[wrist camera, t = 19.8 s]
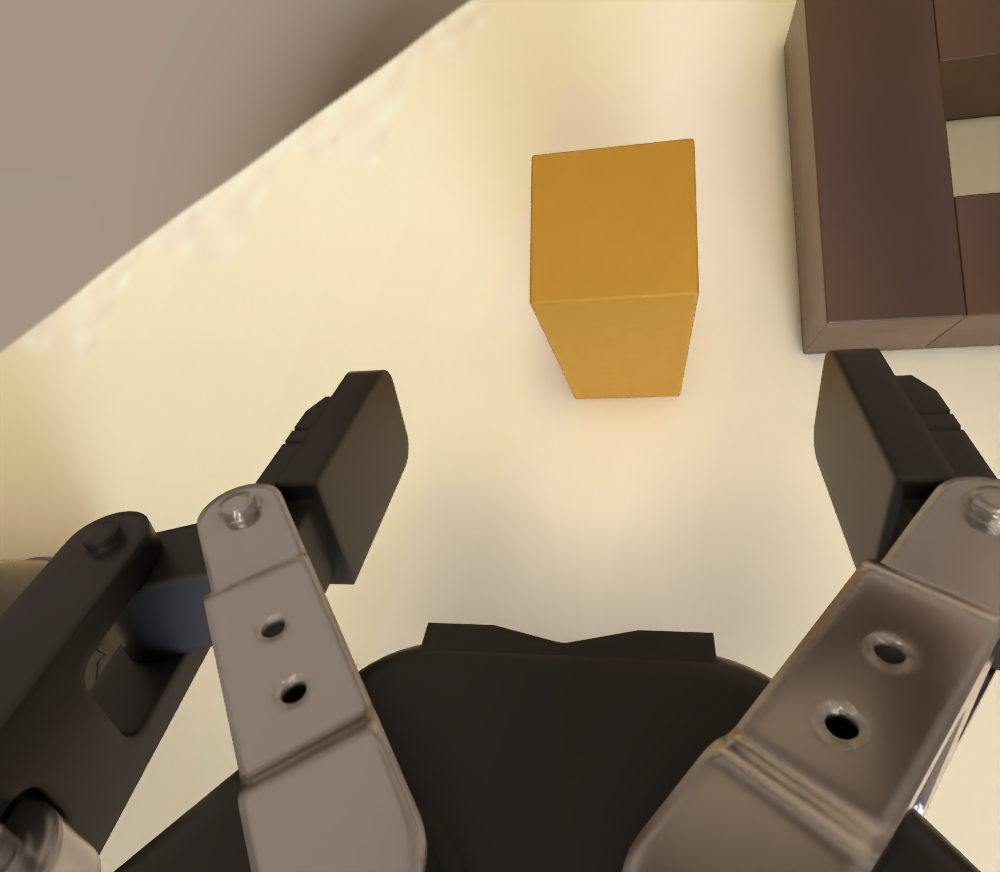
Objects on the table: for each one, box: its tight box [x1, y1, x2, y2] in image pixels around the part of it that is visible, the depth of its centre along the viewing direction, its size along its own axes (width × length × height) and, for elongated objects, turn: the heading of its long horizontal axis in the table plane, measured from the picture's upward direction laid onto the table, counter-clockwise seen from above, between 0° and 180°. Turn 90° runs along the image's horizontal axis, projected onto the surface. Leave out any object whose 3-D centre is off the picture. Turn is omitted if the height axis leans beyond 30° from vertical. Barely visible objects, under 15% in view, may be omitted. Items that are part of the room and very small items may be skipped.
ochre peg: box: [530, 139, 699, 399], centre depth 21 cm, size 4×4×10 cm
